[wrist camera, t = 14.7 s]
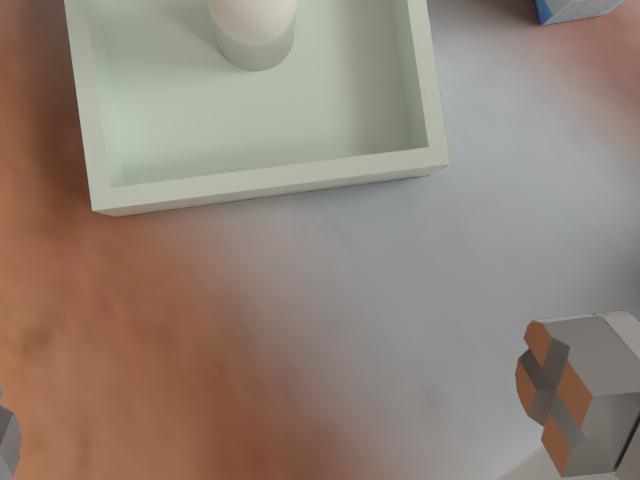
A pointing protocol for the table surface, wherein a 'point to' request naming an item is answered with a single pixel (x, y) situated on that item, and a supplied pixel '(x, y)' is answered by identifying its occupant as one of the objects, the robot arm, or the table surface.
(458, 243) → the table surface
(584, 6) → the medicine box
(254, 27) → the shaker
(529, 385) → the robot arm
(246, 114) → the sage tray
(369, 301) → the table surface
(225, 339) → the table surface
